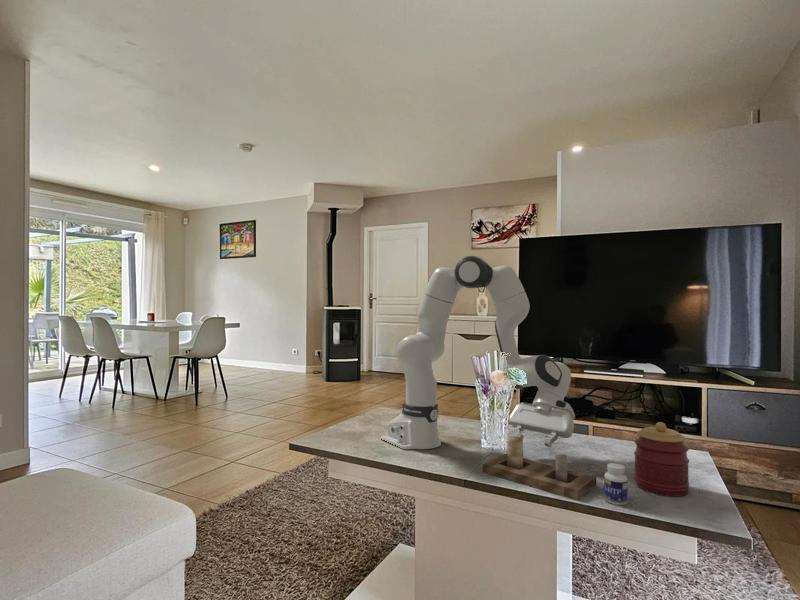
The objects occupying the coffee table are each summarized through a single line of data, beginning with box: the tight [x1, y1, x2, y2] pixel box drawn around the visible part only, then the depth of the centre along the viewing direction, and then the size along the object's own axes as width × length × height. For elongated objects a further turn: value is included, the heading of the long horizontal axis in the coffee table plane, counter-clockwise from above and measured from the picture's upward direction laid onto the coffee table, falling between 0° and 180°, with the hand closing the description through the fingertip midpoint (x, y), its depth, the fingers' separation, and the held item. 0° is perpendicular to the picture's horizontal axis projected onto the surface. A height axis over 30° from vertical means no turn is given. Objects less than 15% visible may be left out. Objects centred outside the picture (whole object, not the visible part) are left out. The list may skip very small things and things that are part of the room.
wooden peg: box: [506, 435, 524, 470], centre depth 132 cm, size 4×4×10 cm
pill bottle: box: [603, 462, 628, 506], centre depth 113 cm, size 5×5×9 cm
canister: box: [633, 421, 690, 497], centre depth 122 cm, size 13×13×18 cm
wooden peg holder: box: [481, 453, 597, 501], centre depth 127 cm, size 28×13×8 cm, turn 47°
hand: (532, 442), depth 140 cm, fingers open, 8 cm apart
